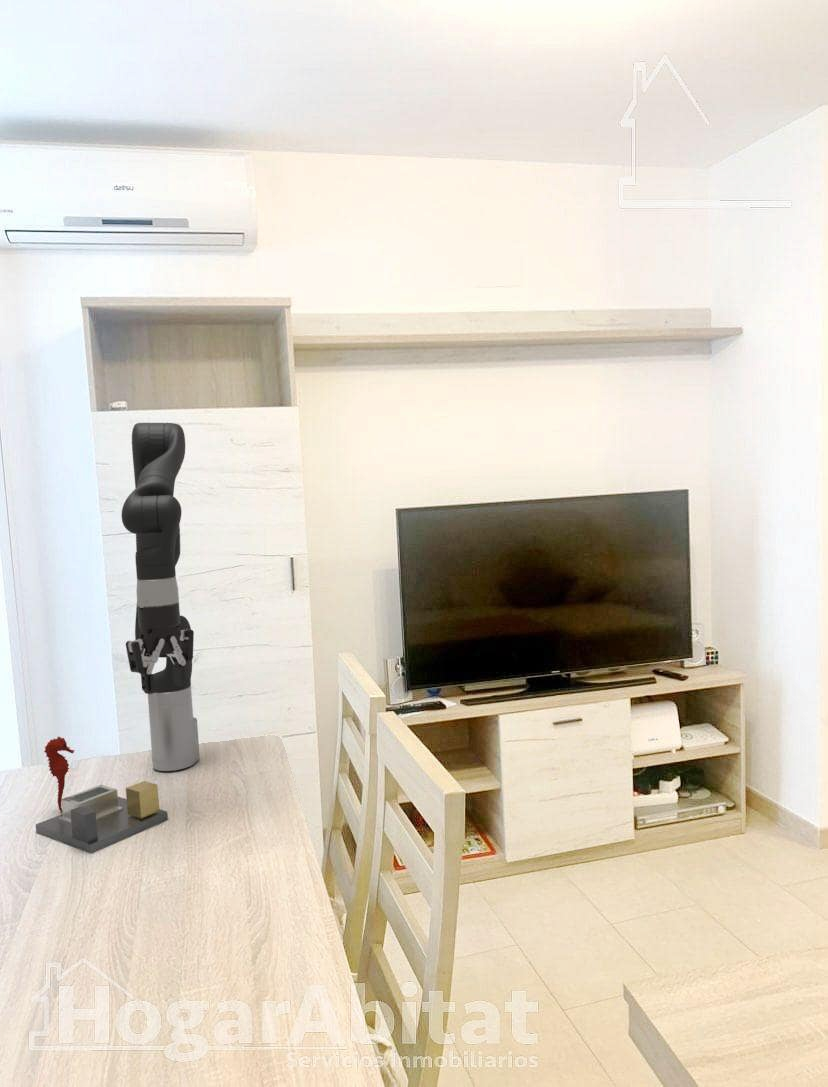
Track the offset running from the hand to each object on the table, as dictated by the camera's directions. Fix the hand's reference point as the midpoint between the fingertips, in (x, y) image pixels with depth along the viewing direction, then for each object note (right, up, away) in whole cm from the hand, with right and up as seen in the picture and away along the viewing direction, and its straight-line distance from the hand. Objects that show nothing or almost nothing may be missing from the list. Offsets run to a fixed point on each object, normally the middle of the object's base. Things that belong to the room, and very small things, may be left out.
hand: (164, 688), depth 155 cm
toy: (-20, -25, +3) cm, 32 cm away
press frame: (-10, -25, -4) cm, 27 cm away
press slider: (-3, -22, -4) cm, 23 cm away
